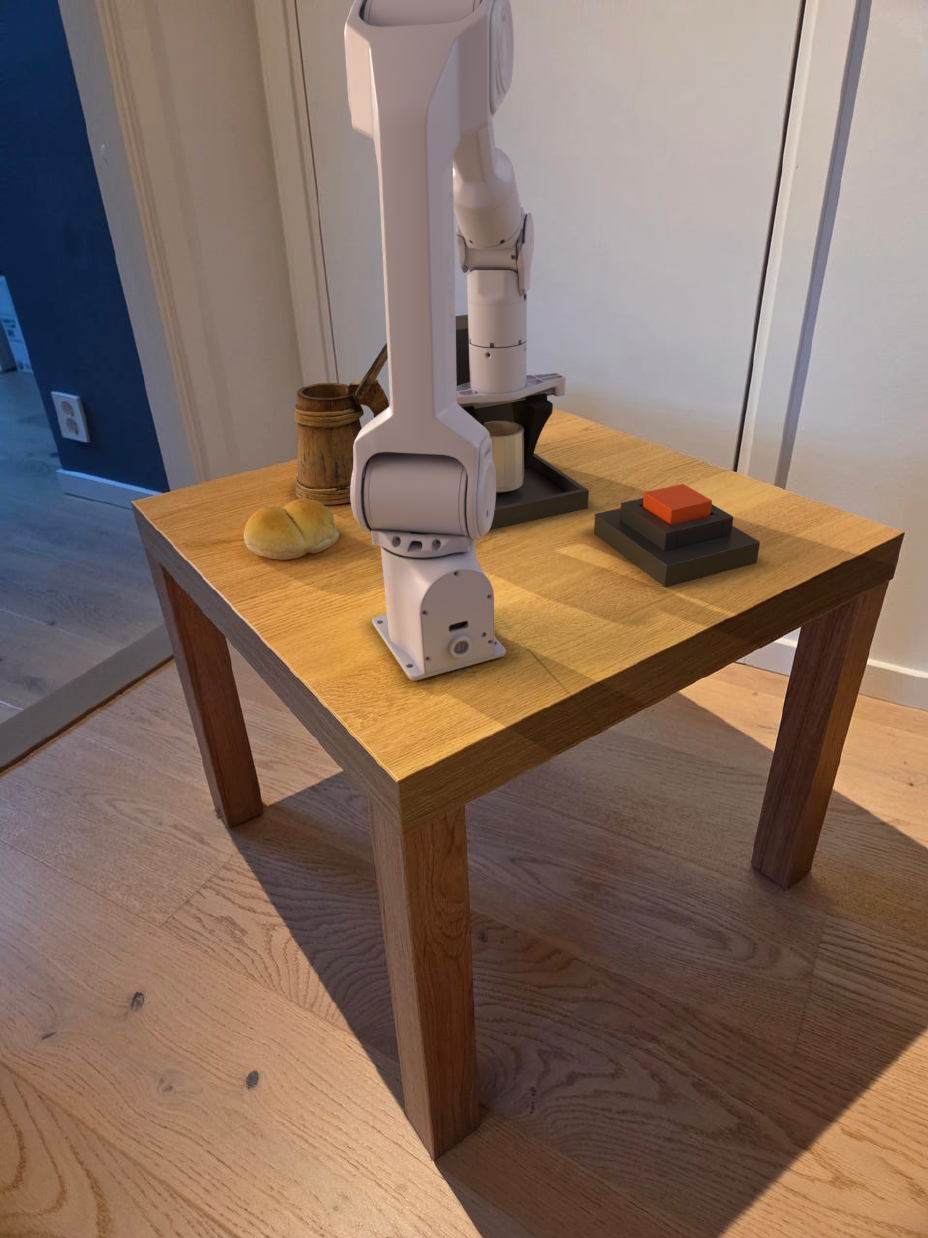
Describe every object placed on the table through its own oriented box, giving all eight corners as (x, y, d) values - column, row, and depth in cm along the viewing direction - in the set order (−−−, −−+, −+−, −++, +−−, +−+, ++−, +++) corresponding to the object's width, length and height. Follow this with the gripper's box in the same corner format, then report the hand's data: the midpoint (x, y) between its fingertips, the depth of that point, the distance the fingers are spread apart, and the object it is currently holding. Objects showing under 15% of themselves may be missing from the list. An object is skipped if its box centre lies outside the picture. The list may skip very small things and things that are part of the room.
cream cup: (532, 486, 91) (532, 432, 87) (487, 495, 89) (485, 440, 86) (510, 470, 95) (510, 417, 92) (467, 478, 93) (465, 425, 90)
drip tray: (588, 508, 89) (588, 489, 88) (472, 534, 84) (472, 515, 83) (521, 461, 101) (522, 444, 100) (417, 481, 96) (416, 464, 95)
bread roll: (239, 537, 86) (232, 500, 84) (324, 518, 89) (319, 482, 87) (257, 571, 79) (250, 532, 77) (348, 550, 82) (344, 512, 80)
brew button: (710, 517, 78) (712, 500, 77) (669, 527, 76) (671, 509, 75) (681, 500, 81) (683, 483, 80) (642, 509, 80) (643, 492, 79)
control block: (756, 563, 78) (763, 523, 75) (664, 588, 74) (669, 547, 72) (678, 513, 87) (682, 477, 85) (593, 534, 84) (595, 496, 82)
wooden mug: (407, 508, 90) (395, 334, 81) (285, 504, 92) (259, 334, 83) (422, 476, 98) (413, 313, 88) (309, 473, 100) (287, 313, 90)
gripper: (543, 323, 89) (541, 446, 97) (414, 341, 85) (422, 469, 92) (577, 337, 84) (572, 467, 91) (441, 358, 79) (447, 493, 86)
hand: (499, 470), depth 91 cm, fingers closed on cream cup, 5 cm apart
